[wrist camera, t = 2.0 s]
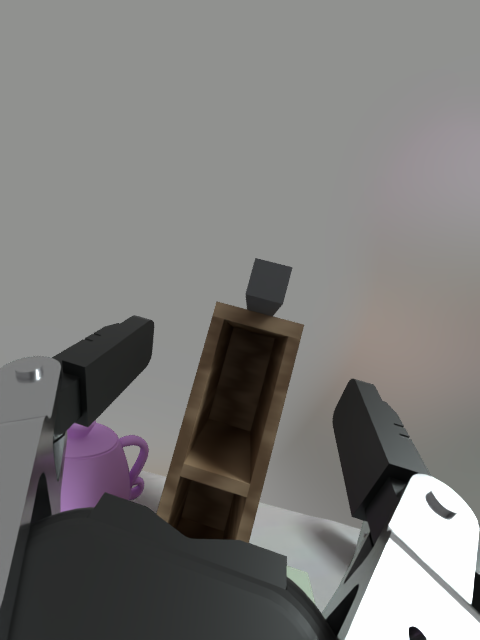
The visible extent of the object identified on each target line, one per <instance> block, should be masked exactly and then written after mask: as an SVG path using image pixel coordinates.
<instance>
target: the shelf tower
mask: <svg viewBox="0 0 480 640" xmlns="http://www.w3.org/2000/svg"><path fill="white" fill-rule="evenodd" d="M303 327H304V325H303V324H299V323H295V322H292V321H288V320H284V319H280V318H277V317H273V316H269V315H265V314H262V313H258V312H254V311H250V310H247V309H243V308H239V307H235V306H232V305H228V304H224V303H220V302H216V306H215V309H214V313H213V317H212V320H211V324H210V327H209V330H208V334H207V337H206V341H205V345H204V348H203V352H202V355H201V358H200V363H199V366H198V369H197V373H196V376H195V380H194V383H193V387H192V390H191V394H190V397H189V401H188V404H187V408H186V411H185V416H184V418H183V422H182V425H181V429H180V432H179V436H178V440H177V443H176V447H175V450H174V454H173V457H172V461H171V464H170V468H169V471H168V475H167V478H166V482H165V485H164V489H163V492H162V496H161V499H160V503H159V506H158V510H157V513H156V514H157V515H158V516H159V517H161V518H162V519H163V520H165V521H166V522H167V523H168V524H170V525H171V526H172V527H174V528H175V529H176V530H177V531H179V532H180V533H181V534H183V535H184V536H186V537H188V538H191V539H222V540H241V541H244V542H247V543H249V540H250V536H251V532H252V528H253V524H254V520H255V516H256V512H257V508H258V504H259V500H260V496H261V492H262V489H263V485H264V481H265V477H266V473H267V469H268V465H269V461H270V457H271V453H272V449H273V445H274V441H275V437H276V433H277V429H278V426H279V422H280V418H281V414H282V410H283V406H284V402H285V398H286V394H287V390H288V386H289V382H290V378H291V374H292V370H293V367H294V363H295V359H296V355H297V351H298V347H299V343H300V339H301V335H302V331H303Z"/></svg>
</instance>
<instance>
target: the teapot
mask: <svg viewBox="0 0 480 640" xmlns="http://www.w3.org/2000/svg"><path fill="white" fill-rule="evenodd" d="M67 433H68V437H67V445H66V453H65V461H64V469H63V478H62V486H61V512H63V511H68V510H72V509H77V508H87V507H95V506H96V504H97V503H98V501H99V500H100V498H101V497H102V495H103V494H104V493H105V492H106V493H109V494H112V495H115V496H117V497H120V498H123V499H126V500H132V499H135V498H137V497H138V496H139V495H141V493H142V492H143V489H144V481H143V479H142V478H141V477H138V475H139V474H140V472H141V470H142V468H143V466H144V464H145V462H146V460H147V457H148V452H149V449H148V445H147V443H146V441H145V440H144V439H142V438H141V437H139V436H135V435H129V436H124V437H122V438H120V439H119V438H118V436H117V434H116V433H115V432H114V431H113V430H112V429H110V428H108V427H106V426H104V425H101V424H99V423H96V421H94V422H93V423H92V424H91V425H90V426H89V427H85V426H82V425H79V424H76V423H74V424H73V425H72V426H71V427H70V428H69V429H68V430H67ZM130 445H136V446H139V447H140V448H141V449H140V453H139V456H138V458H137V460H136V462H135V464H134V466H133V467H132V469H131V471H130V472H129V468H128V464H127V460H126V457H125V454H124V451H123V447H125V446H130ZM137 484H138V485H137ZM133 485H137V486H136V487H134V488H132V486H133ZM131 488H132V489H131Z"/></svg>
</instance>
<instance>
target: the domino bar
mask: <svg viewBox="0 0 480 640" xmlns="http://www.w3.org/2000/svg"><path fill="white" fill-rule="evenodd" d="M291 271H292V267H289V266H285V265H281V264H277V263H273V262H269V261H265V260H261V259H257V258H256V259H255V262H254V265H253V269H252V273H251V276H250V280H249V284H248V288H247V291H246V302H247V310H250V311H254V312H258V313H262V314H265V315H269V316H273V315H274V314H275V313H276V311H277V310H278V309H279V308H280V307H281V305H282V304H283V301H284V297H285V293H286V290H287V286H288V282H289V278H290V274H291Z"/></svg>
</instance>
